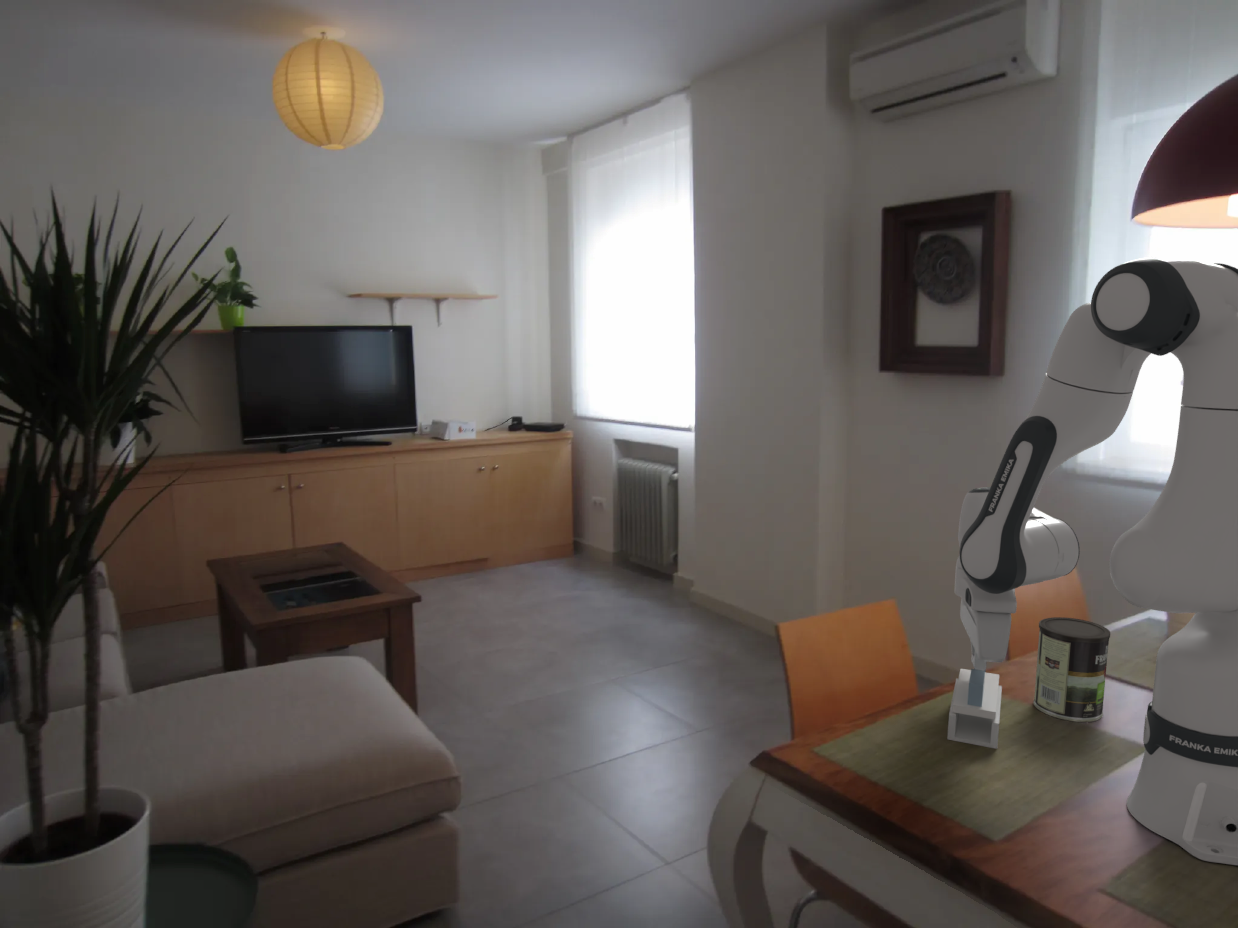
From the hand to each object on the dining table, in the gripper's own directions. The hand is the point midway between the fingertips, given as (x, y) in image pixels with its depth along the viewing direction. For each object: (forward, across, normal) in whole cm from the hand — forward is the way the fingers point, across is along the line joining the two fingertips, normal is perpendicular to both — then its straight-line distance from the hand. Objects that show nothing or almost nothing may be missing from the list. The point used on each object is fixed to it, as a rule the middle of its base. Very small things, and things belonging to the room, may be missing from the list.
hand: (978, 666), depth 138 cm
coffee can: (+8, -5, +15) cm, 18 cm away
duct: (+8, +5, -1) cm, 9 cm away
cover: (+7, +3, -1) cm, 8 cm away
